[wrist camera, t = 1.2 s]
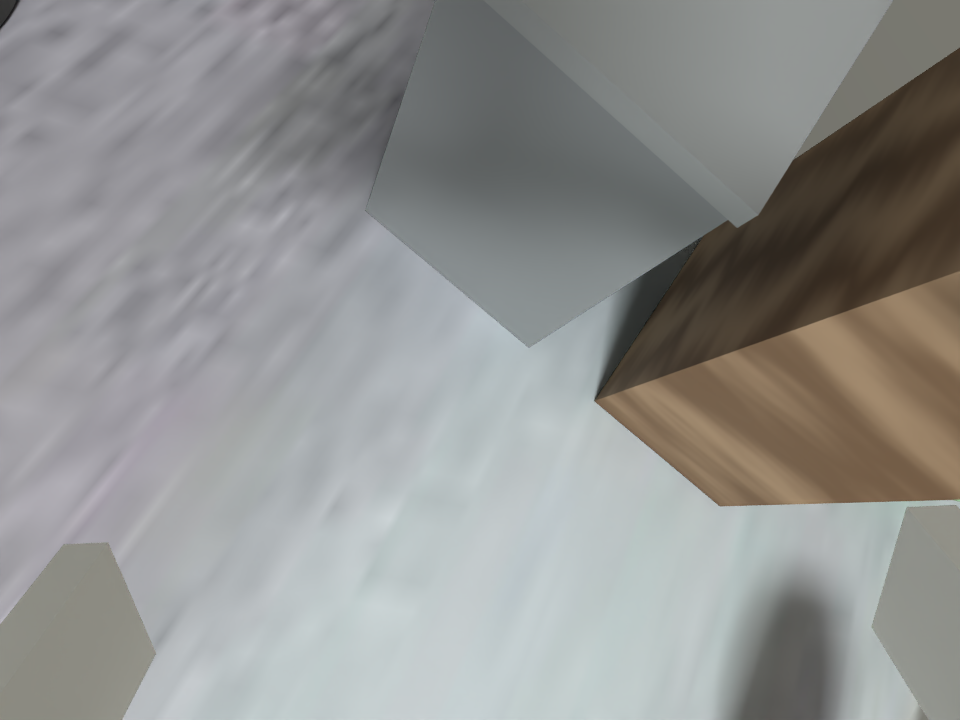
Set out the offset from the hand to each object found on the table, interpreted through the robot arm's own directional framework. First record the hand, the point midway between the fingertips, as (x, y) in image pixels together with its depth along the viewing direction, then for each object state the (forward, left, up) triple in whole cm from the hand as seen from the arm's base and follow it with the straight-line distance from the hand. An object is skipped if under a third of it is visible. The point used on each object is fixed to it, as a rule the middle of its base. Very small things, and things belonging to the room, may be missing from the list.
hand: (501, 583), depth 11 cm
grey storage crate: (-12, +20, -23) cm, 33 cm away
